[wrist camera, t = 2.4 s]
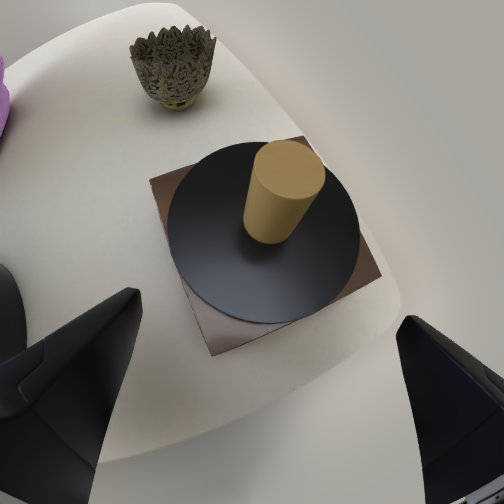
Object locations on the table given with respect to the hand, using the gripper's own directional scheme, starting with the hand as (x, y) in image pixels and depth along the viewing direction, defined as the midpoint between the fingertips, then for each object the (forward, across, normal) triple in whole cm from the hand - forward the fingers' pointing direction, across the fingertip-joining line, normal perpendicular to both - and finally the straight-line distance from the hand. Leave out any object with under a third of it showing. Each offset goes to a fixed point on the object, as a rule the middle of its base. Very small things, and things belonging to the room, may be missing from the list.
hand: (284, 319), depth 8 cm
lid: (+8, 0, 0) cm, 8 cm away
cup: (+22, +9, -6) cm, 25 cm away
